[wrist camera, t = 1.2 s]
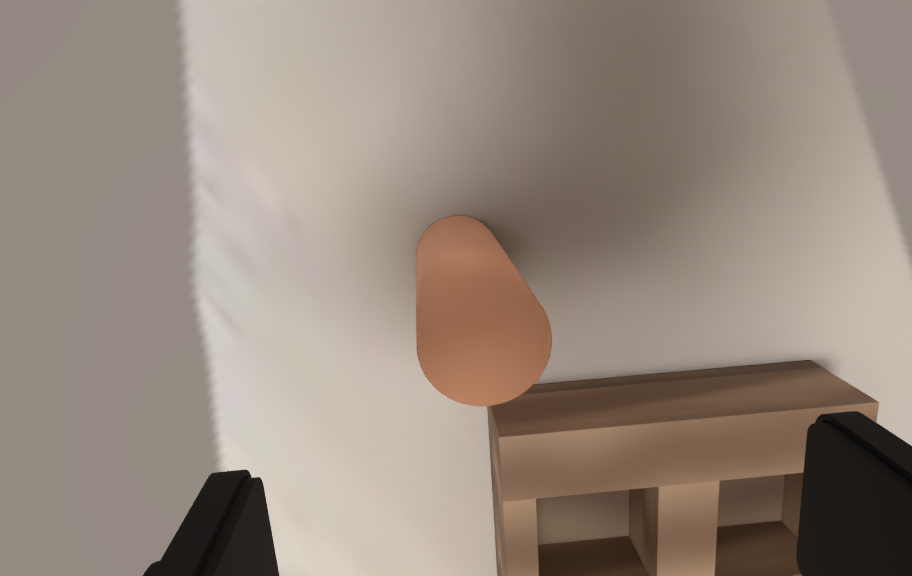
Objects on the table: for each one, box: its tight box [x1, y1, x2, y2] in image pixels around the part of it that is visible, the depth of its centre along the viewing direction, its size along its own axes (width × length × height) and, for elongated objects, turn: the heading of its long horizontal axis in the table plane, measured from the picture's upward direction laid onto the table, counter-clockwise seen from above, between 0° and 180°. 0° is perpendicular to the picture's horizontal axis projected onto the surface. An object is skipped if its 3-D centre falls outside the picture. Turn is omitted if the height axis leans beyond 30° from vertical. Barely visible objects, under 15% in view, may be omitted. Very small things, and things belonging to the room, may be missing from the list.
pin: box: [416, 215, 552, 406], centre depth 24 cm, size 4×4×12 cm
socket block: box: [487, 360, 879, 576], centre depth 31 cm, size 12×17×5 cm
